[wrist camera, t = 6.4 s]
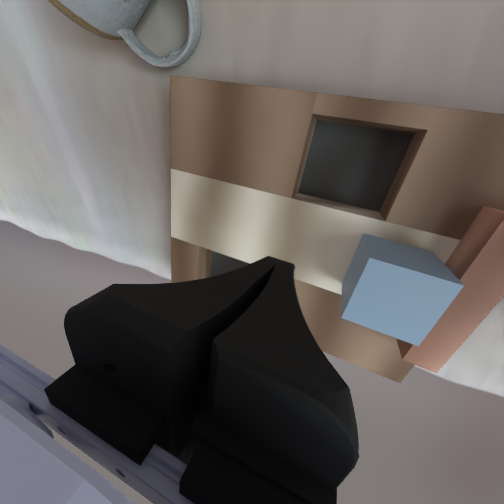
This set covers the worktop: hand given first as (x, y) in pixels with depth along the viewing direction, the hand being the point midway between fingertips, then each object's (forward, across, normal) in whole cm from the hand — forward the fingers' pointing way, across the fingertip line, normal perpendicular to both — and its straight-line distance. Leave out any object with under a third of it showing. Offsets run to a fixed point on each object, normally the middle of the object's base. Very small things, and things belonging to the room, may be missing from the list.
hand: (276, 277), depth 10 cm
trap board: (+9, 0, +1) cm, 9 cm away
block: (+6, -6, +1) cm, 9 cm away
